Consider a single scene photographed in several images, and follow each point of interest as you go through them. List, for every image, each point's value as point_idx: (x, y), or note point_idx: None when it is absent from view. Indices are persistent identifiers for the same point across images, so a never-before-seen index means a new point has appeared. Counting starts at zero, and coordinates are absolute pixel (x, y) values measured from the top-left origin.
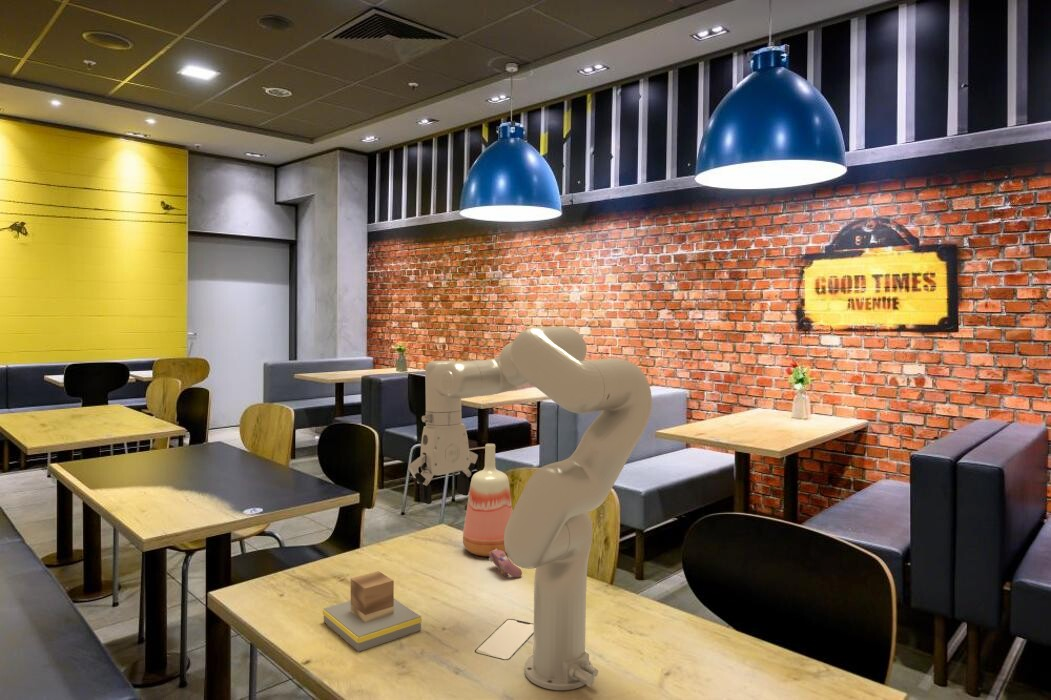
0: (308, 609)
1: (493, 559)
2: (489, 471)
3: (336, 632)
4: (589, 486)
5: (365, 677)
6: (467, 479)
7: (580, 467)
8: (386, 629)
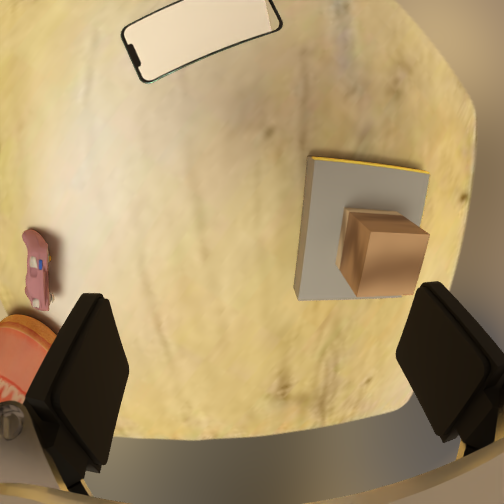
0: (377, 331)
1: (47, 291)
2: None
3: None
4: None
5: (443, 102)
6: (41, 383)
7: None
8: (385, 165)
